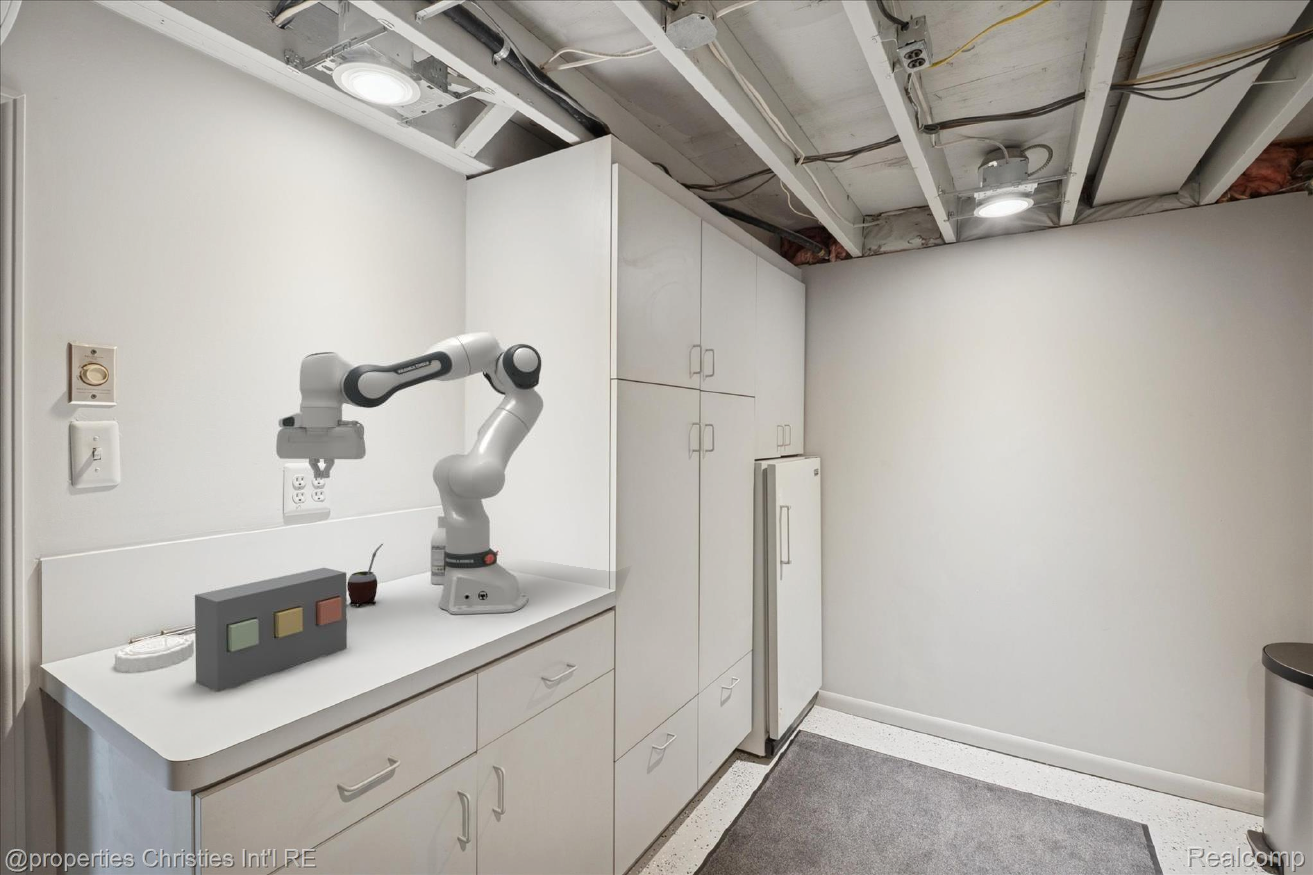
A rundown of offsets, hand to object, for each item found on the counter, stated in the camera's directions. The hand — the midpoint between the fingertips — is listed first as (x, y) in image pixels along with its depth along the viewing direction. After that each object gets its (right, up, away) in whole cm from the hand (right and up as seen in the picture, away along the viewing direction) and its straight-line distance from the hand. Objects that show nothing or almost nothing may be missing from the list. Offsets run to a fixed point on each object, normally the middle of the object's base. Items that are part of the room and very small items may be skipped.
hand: (321, 478), depth 143 cm
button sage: (+4, -28, -34) cm, 45 cm away
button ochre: (+8, -28, -28) cm, 40 cm away
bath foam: (+17, -34, +35) cm, 51 cm away
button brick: (+12, -28, -21) cm, 37 cm away
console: (+5, -35, -25) cm, 43 cm away
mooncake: (-20, -35, -24) cm, 47 cm away
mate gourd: (+3, -34, +14) cm, 37 cm away
